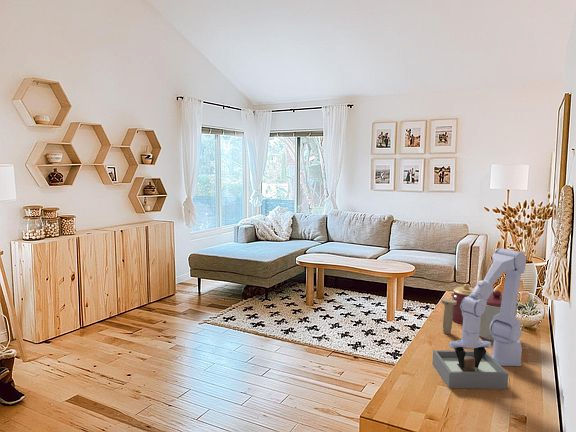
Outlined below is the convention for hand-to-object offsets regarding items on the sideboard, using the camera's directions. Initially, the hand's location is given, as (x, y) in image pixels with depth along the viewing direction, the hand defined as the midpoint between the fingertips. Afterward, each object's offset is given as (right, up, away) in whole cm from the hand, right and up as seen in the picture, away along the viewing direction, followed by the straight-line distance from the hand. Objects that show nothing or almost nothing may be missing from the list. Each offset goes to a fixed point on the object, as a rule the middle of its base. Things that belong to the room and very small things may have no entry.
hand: (468, 366), depth 167 cm
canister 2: (+25, +1, +36) cm, 44 cm away
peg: (0, -3, 0) cm, 3 cm away
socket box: (0, -3, 0) cm, 3 cm away
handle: (+6, +2, +40) cm, 41 cm away
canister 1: (+20, +4, +57) cm, 61 cm away
